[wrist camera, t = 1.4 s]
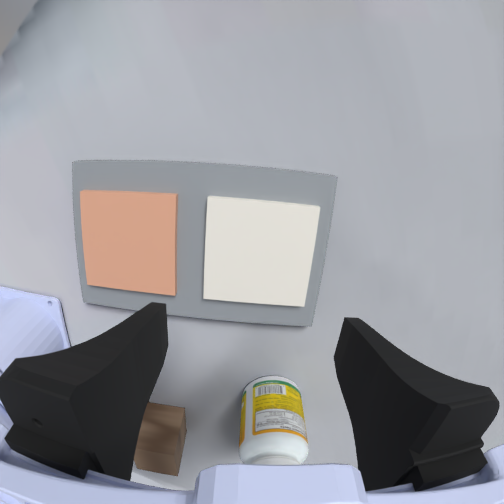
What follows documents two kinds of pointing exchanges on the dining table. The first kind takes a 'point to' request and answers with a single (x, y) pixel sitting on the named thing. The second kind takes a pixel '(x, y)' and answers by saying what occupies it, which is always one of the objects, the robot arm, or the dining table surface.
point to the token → (161, 439)
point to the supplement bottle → (272, 423)
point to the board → (202, 238)
